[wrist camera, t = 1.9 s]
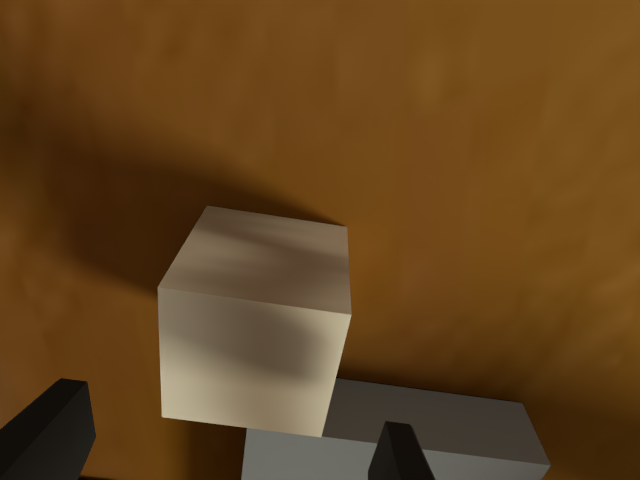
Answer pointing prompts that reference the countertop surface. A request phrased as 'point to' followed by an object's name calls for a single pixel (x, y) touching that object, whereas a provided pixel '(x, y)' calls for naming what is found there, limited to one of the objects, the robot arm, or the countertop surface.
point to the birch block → (254, 322)
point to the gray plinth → (429, 426)
